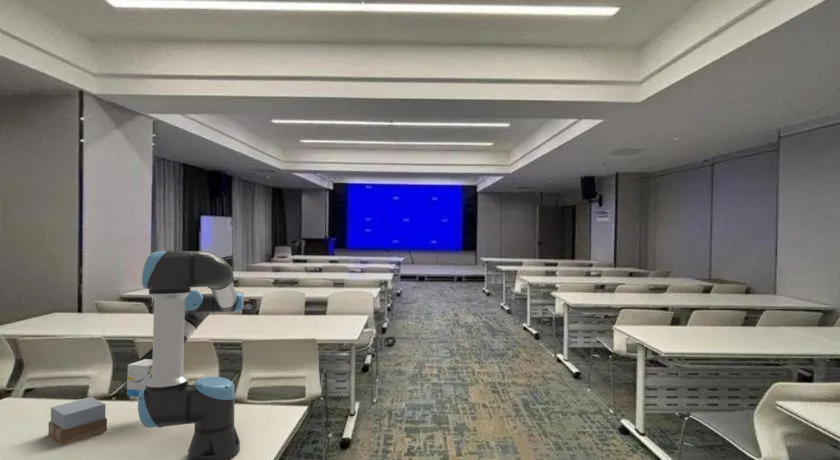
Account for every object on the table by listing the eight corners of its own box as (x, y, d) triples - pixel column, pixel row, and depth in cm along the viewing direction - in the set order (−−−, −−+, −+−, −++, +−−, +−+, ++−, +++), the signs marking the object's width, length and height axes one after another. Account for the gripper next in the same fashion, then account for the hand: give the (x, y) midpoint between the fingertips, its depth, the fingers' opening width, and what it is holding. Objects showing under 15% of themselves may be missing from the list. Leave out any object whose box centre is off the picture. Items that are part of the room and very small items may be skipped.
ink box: (145, 397, 164) (146, 365, 164) (126, 396, 166) (126, 364, 166) (163, 390, 172) (164, 359, 173) (144, 388, 174) (145, 358, 174)
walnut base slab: (106, 432, 159) (106, 418, 159) (61, 446, 149) (61, 431, 149) (92, 423, 167) (92, 410, 167) (48, 436, 156) (48, 421, 156)
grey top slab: (105, 418, 160) (105, 404, 160) (64, 430, 150) (64, 415, 150) (91, 410, 166) (91, 397, 166) (50, 421, 156) (51, 407, 156)
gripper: (202, 342, 175) (159, 393, 162) (172, 335, 189) (130, 382, 176) (188, 331, 171) (144, 382, 158) (159, 324, 184) (115, 371, 171)
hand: (137, 382), depth 167 cm, fingers closed on ink box, 11 cm apart
